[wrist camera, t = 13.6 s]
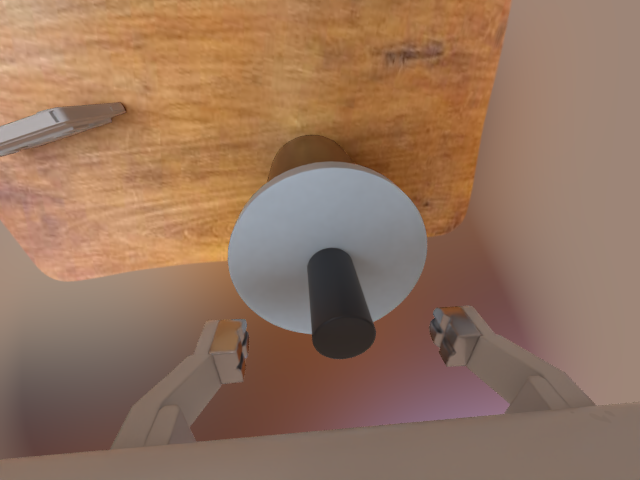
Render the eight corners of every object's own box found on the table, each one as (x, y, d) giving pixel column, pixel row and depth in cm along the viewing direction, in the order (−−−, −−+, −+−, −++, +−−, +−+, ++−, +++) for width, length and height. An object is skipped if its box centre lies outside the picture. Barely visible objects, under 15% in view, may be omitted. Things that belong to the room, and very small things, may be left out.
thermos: (355, 134, 27) (414, 179, 14) (350, 215, 32) (390, 307, 19) (266, 135, 27) (238, 182, 13) (273, 217, 31) (258, 314, 18)
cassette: (119, 95, 24) (52, 98, 17) (131, 117, 25) (73, 128, 18) (2, 135, 25) (-105, 152, 18) (19, 154, 26) (-77, 178, 19)
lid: (437, 159, 14) (531, 206, 8) (402, 316, 19) (444, 404, 14) (214, 162, 13) (157, 217, 7) (245, 325, 18) (226, 423, 13)
